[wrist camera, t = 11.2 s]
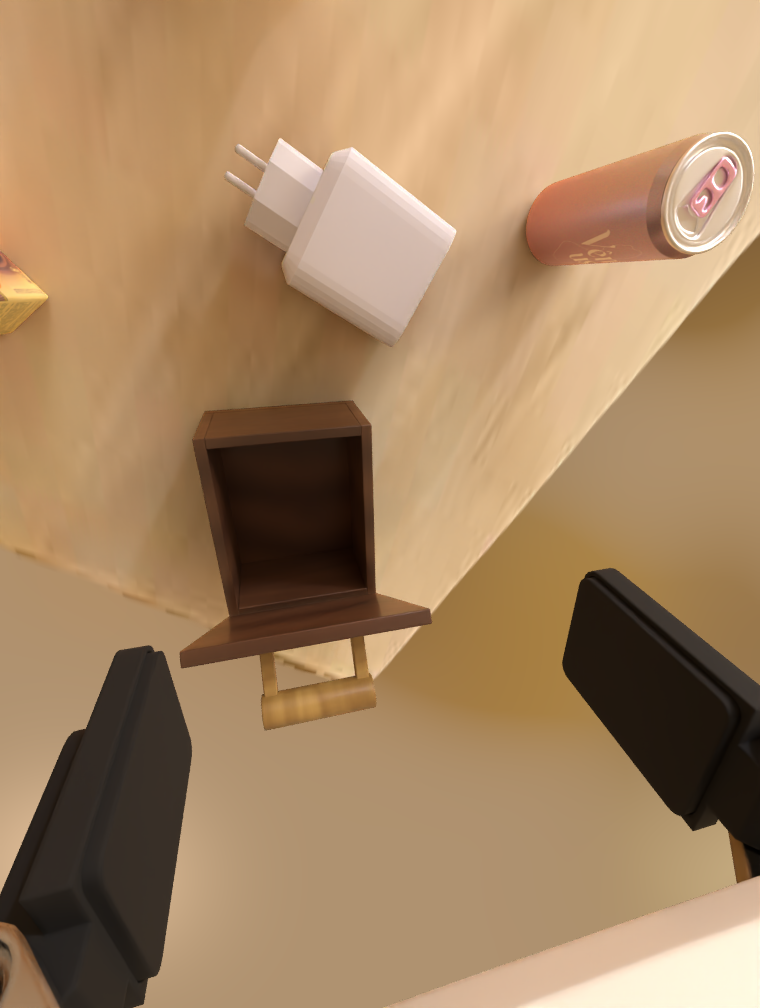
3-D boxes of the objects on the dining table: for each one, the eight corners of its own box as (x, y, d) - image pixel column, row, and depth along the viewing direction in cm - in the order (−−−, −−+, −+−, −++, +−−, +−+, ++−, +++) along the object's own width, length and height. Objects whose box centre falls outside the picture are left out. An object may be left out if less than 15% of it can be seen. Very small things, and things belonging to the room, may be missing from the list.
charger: (260, 97, 30) (437, 235, 36) (206, 234, 32) (380, 341, 38) (260, 68, 26) (460, 229, 32) (198, 228, 28) (395, 348, 34)
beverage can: (599, 215, 38) (776, 180, 25) (554, 280, 40) (698, 280, 27) (554, 164, 36) (723, 96, 23) (507, 236, 37) (641, 211, 24)
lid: (179, 651, 21) (189, 763, 21) (430, 608, 24) (445, 707, 23) (228, 616, 37) (235, 679, 37) (376, 592, 40) (384, 651, 39)
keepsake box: (204, 411, 38) (192, 439, 31) (352, 400, 40) (371, 424, 33) (234, 566, 45) (229, 617, 38) (359, 549, 47) (375, 594, 40)
